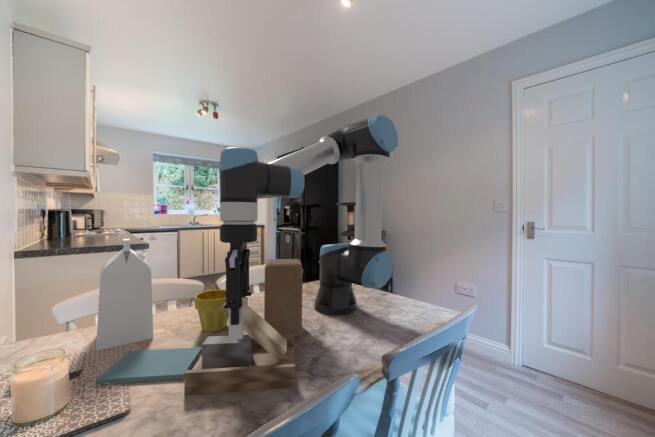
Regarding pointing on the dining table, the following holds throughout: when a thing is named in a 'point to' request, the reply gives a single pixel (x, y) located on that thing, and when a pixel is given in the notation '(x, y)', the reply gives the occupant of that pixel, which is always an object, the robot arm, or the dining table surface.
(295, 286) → the block
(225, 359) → the open wooden box
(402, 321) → the dining table surface
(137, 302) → the milk
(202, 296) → the plant pot
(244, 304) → the birch bar
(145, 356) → the slate mat
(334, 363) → the dining table surface
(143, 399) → the dining table surface
